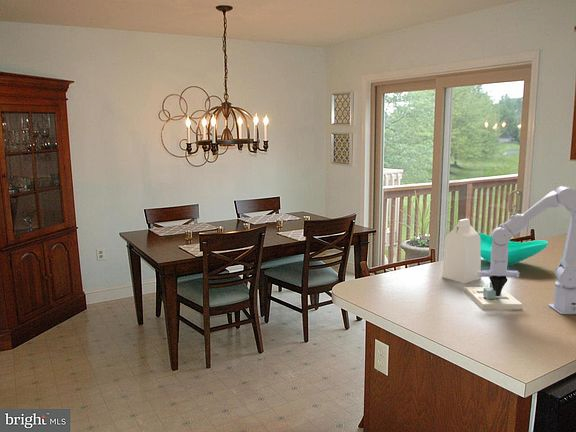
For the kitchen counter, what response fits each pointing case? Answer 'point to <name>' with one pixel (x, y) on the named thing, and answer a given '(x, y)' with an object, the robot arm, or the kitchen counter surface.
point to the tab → (489, 293)
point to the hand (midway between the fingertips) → (496, 295)
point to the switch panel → (498, 303)
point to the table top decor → (512, 249)
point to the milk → (462, 253)
